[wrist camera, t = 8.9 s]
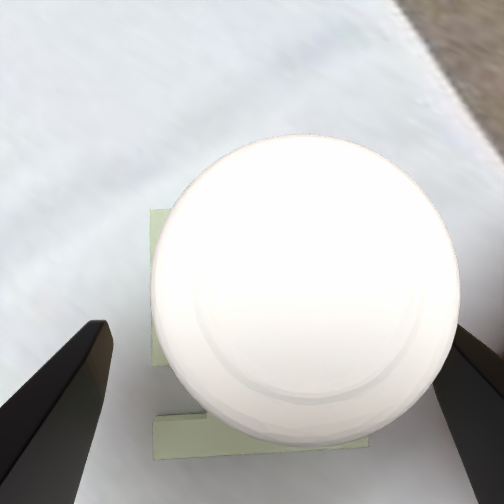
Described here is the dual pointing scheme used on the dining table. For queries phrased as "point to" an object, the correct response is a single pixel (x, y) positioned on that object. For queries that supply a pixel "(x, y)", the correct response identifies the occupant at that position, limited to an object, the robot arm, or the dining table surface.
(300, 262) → the sprinkles bottle
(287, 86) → the dining table surface
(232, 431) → the notched board
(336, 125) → the dining table surface
